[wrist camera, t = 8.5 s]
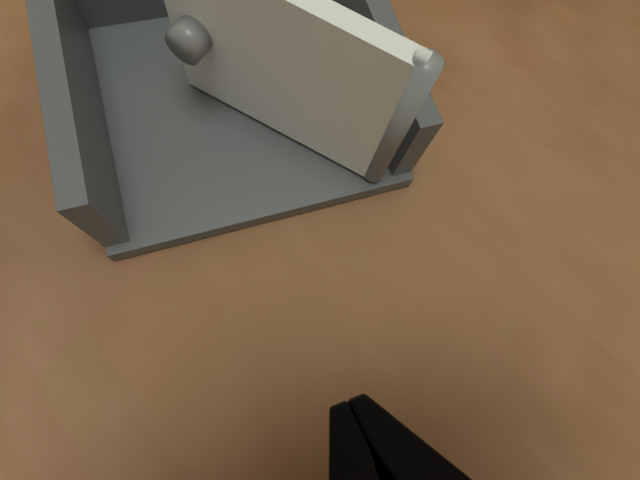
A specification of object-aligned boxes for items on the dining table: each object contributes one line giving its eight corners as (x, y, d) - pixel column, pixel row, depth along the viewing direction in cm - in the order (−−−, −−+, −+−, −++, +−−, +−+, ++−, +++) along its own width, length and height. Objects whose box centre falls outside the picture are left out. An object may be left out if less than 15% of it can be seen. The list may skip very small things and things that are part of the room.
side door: (386, 169, 24) (448, 57, 15) (369, 201, 23) (424, 101, 15) (199, 70, 25) (158, -90, 16) (176, 97, 24) (122, -55, 15)
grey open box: (408, 186, 25) (452, 124, 19) (114, 261, 22) (50, 217, 16) (320, -35, 30) (332, -142, 24) (67, 1, 27) (3, -113, 20)
